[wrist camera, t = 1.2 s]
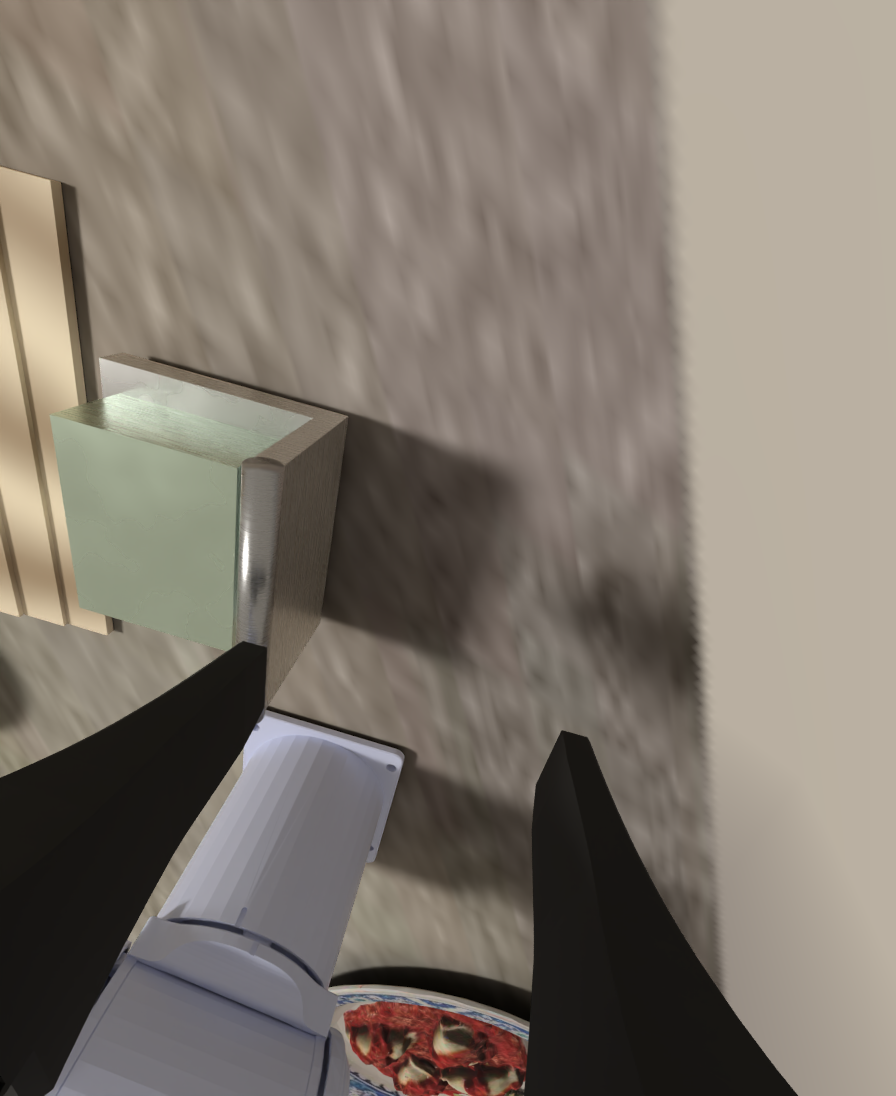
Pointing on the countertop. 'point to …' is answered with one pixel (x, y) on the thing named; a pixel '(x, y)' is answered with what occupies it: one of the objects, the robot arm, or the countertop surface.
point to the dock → (36, 402)
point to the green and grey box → (201, 507)
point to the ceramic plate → (428, 1043)
